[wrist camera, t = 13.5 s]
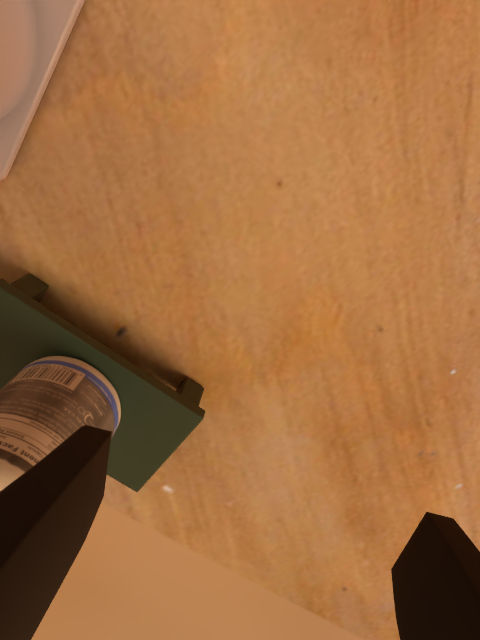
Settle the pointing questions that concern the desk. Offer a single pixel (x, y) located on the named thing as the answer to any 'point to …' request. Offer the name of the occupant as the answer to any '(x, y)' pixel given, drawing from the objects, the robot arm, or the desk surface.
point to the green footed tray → (127, 379)
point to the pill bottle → (50, 410)
